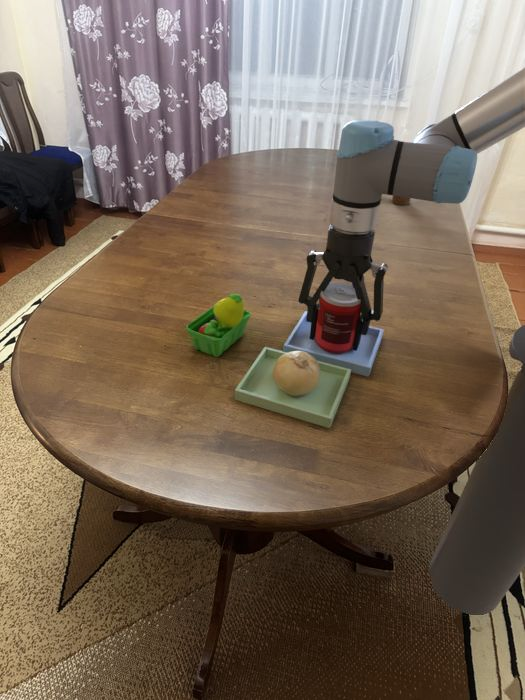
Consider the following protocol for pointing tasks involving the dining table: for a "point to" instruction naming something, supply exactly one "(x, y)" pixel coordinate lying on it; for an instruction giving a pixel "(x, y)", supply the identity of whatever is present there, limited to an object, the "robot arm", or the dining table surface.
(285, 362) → the onion
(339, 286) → the canned food
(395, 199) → the utensil holder
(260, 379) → the green tray
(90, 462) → the dining table surface
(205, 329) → the fruit basket
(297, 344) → the blue tray
